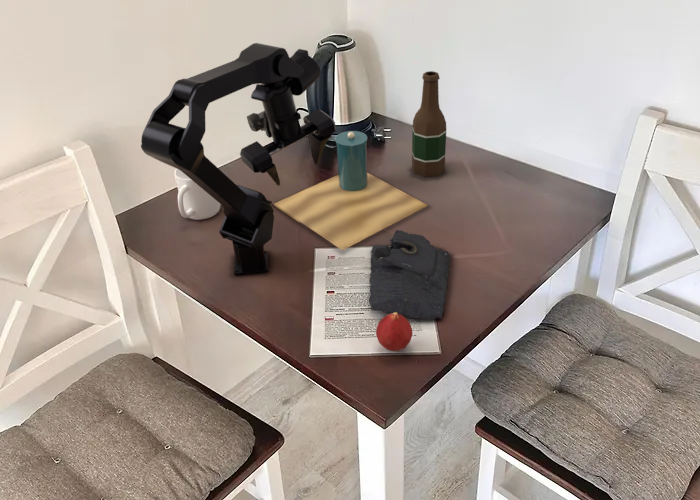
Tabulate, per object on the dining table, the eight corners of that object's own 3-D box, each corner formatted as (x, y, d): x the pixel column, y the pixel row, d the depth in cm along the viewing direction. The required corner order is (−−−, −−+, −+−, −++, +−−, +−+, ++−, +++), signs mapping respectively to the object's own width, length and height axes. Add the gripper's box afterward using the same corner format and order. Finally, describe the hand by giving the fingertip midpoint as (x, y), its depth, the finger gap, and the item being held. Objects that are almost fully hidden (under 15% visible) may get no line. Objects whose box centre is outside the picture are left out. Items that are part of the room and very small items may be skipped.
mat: (428, 207, 143) (428, 205, 142) (342, 252, 131) (342, 250, 131) (356, 168, 158) (356, 166, 158) (274, 205, 146) (273, 203, 146)
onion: (369, 351, 108) (368, 315, 104) (389, 332, 112) (389, 296, 107) (398, 366, 105) (399, 330, 101) (418, 346, 109) (419, 309, 104)
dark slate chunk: (356, 317, 115) (355, 297, 112) (374, 244, 133) (373, 225, 130) (444, 325, 113) (445, 304, 110) (451, 249, 130) (452, 230, 127)
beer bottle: (408, 177, 154) (409, 78, 139) (415, 161, 160) (417, 65, 145) (441, 181, 152) (445, 81, 137) (447, 165, 158) (452, 68, 143)
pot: (374, 186, 150) (373, 134, 142) (346, 194, 147) (343, 142, 140) (359, 173, 155) (357, 122, 147) (332, 181, 153) (329, 129, 145)
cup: (227, 202, 148) (220, 162, 142) (202, 232, 139) (193, 191, 133) (194, 198, 150) (186, 158, 144) (167, 227, 141) (157, 186, 135)
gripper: (299, 72, 130) (314, 137, 141) (217, 113, 124) (239, 177, 135) (330, 94, 123) (343, 160, 134) (244, 138, 117) (265, 203, 128)
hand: (297, 174), depth 133 cm, fingers open, 9 cm apart
